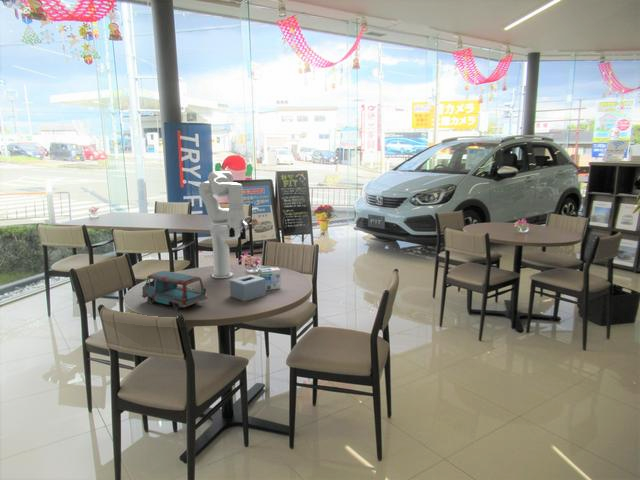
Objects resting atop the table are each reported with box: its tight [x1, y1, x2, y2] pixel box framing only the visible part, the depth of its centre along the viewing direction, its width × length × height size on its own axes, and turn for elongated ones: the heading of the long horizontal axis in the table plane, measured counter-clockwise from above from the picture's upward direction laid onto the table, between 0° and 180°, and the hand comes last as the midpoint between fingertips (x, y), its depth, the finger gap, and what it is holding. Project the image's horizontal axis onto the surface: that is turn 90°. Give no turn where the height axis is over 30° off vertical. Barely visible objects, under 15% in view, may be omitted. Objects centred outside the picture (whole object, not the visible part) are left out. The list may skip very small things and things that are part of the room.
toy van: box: [141, 270, 208, 311], centre depth 226 cm, size 16×32×15 cm, turn 60°
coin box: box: [229, 274, 267, 302], centre depth 238 cm, size 12×14×9 cm
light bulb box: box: [259, 266, 282, 291], centre depth 251 cm, size 11×7×11 cm, turn 112°
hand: (237, 238), depth 247 cm, fingers open, 9 cm apart
